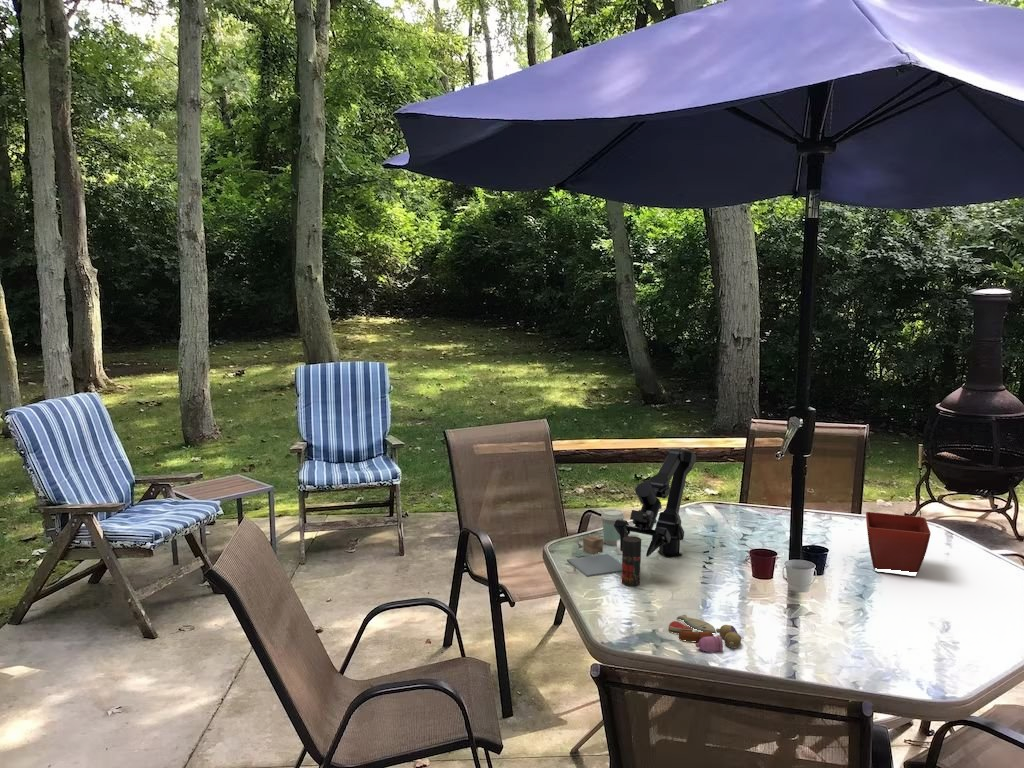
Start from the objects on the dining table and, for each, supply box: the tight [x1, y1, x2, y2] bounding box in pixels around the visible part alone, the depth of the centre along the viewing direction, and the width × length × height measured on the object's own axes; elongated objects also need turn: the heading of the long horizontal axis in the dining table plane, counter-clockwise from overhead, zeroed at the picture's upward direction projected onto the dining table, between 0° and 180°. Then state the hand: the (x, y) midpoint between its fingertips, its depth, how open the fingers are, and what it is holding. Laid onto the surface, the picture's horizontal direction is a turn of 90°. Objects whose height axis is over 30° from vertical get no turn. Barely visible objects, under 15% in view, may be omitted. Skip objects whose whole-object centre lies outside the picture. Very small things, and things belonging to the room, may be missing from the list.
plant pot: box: [865, 511, 931, 573], centre depth 278 cm, size 19×19×17 cm
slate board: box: [567, 553, 622, 578], centre depth 280 cm, size 16×16×1 cm
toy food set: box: [668, 614, 742, 652], centre depth 224 cm, size 26×16×4 cm, turn 43°
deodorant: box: [621, 535, 642, 588], centre depth 263 cm, size 6×6×15 cm
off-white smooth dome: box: [616, 539, 622, 556], centre depth 294 cm, size 7×7×4 cm
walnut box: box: [582, 534, 604, 555], centre depth 295 cm, size 5×5×5 cm
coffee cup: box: [600, 508, 625, 546], centre depth 303 cm, size 8×8×12 cm
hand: (633, 553), depth 265 cm, fingers open, 9 cm apart
